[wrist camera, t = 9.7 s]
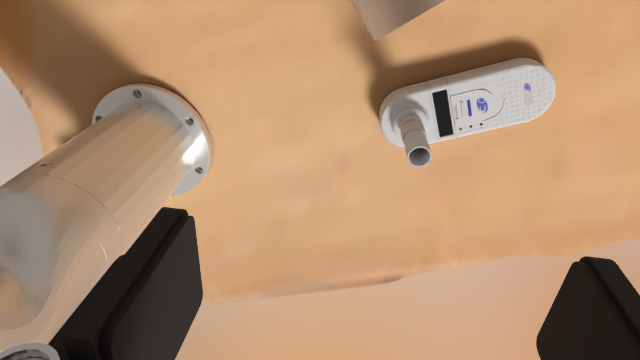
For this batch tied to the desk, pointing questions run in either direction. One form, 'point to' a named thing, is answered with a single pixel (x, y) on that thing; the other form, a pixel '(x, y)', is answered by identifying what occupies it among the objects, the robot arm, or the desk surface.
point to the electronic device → (465, 105)
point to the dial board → (390, 13)
